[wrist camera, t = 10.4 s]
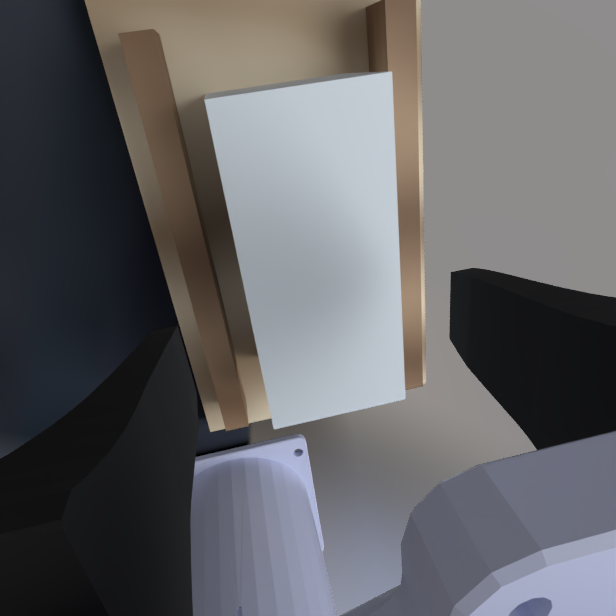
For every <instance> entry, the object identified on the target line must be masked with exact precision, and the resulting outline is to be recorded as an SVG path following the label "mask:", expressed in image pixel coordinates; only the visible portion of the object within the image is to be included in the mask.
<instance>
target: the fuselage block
mask: <svg viewBox="0 0 616 616" xmlns="http://www.w3.org/2000/svg"><path fill="white" fill-rule="evenodd" d="M204 101H205V105H206V110H207V115H208V120H209V124H210V129H211V134H212V139H213V143H214V148H215V153H216V158H217V162H218V167H219V172H220V176H221V181H222V186H223V191H224V195H225V200H226V205H227V210H228V214H229V219H230V224H231V229H232V233H233V238H234V243H235V248H236V252H237V257H238V262H239V266H240V271H241V276H242V281H243V285H244V290H245V295H246V300H247V304H248V309H249V314H250V319H251V323H252V328H253V333H254V338H255V342H256V347H257V352H258V357H259V361H260V366H261V371H262V375H263V380H264V385H265V390H266V394H267V399H268V404H269V409H270V413H271V418H272V423H273V427H274V429H278V428H282V427H287V426H291V425H295V424H299V423H304V422H308V421H313V420H317V419H321V418H326V417H330V416H334V415H339V414H343V413H347V412H351V411H356V410H360V409H365V408H369V407H373V406H378V405H382V404H386V403H391V402H395V401H399V400H404V399H405V374H404V349H403V325H402V300H401V276H400V251H399V226H398V202H397V177H396V153H395V128H394V104H393V79H392V71H390V72H364V73H342V74H336V75H329V76H322V77H315V78H309V79H302V80H295V81H288V82H282V83H275V84H268V85H262V86H255V87H248V88H241V89H235V90H228V91H221V92H214V93H208V94H205V98H204Z"/></svg>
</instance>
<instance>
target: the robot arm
mask: <svg viewBox="0 0 616 616" xmlns="http://www.w3.org/2000/svg"><path fill="white" fill-rule="evenodd" d="M450 297H451V298H450V340H451V342H452V343H453V345H454V346H455V348H456V350H457V352H458V353H459V355H460V356H461V358H462V359H463V361H464V362H465V364H466V365H467V367H468V368H469V369H470V370H471V371H472V373H473V374H474V375H475V376H476V377H477V378H478V380H479V381H480V382H481V383H482V384H483V385H484V387H485V388H486V389H487V390H488V391H489V392H490V393H491V394H492V396H493V397H494V398H495V399H496V400H497V401H498V402H499V404H501V406H502V407H503V408H504V409H505V410H506V411H507V413H508V414H509V415H510V416H511V417H512V418H513V419H514V420H515V422H516V423H517V424H518V425H519V426H520V428H521V429H522V430H523V431H524V432H525V434H526V435H527V436H528V438H529V439H530V440H531V442H532V443H533V445H534V446H535V447H536V449H537V450H536V451H532V452H528V453H524V454H520V455H516V456H512V457H508V458H504V459H500V460H496V461H491V462H487V463H484V464H479V465H476V466H474V467H472V468H469V469H467V470H465V471H463V472H460V473H458V474H456V475H454V476H452V477H449V478H447V479H445V480H443V481H441V482H439V484H437V485H436V486H435V487H434V488H433V489H432V490H431V492H429V493H428V494H427V495H426V496H425V497H424V498H423V499H422V500H421V502H419V503H418V504H417V505H416V506H415V507H414V509H413V510H412V512H411V514H410V517H409V520H408V523H407V526H406V530H405V533H404V536H403V539H402V542H401V554H402V580H401V585H399V586H397V587H395V588H393V589H391V590H389V591H387V592H385V593H383V594H381V595H379V596H377V597H375V598H373V599H372V600H370V601H368V602H366V603H364V604H362V605H360V606H358V607H356V608H354V609H352V610H350V611H348V612H346V613H344V614H342V615H340V616H616V298H615V297H607V296H602V295H596V294H590V293H585V292H580V291H576V290H570V289H565V288H561V287H556V286H553V285H548V284H544V283H540V282H536V281H532V280H528V279H524V278H520V277H516V276H512V275H508V274H504V273H499V272H495V271H490V270H485V269H478V268H470V269H465V270H460V271H455V272H451V294H450ZM197 435H198V407H197V392H196V388H195V385H194V381H193V378H192V374H191V371H190V367H189V364H188V360H187V357H186V353H185V350H184V346H183V343H182V339H181V336H180V332H179V329H178V326H173V327H168V328H163V329H158V330H153V331H152V332H151V333H149V334H148V335H147V336H146V338H145V339H144V340H143V341H142V342H141V343H140V344H139V345H138V346H137V347H136V348H135V350H134V351H133V352H132V353H131V354H130V355H129V356H128V357H127V358H126V359H125V360H124V361H123V363H122V364H121V365H120V366H119V367H118V368H117V369H116V370H115V371H114V372H113V373H112V374H111V375H110V376H109V377H108V378H107V379H106V380H105V381H104V382H103V383H102V384H101V385H99V386H98V387H97V388H96V389H95V390H94V391H93V392H92V393H91V394H90V395H89V396H88V397H87V398H86V399H84V400H83V401H82V402H81V403H80V404H79V405H77V406H76V407H75V408H74V409H73V410H71V411H70V412H69V413H67V414H66V415H65V416H64V417H62V418H61V419H60V420H58V421H57V422H56V423H54V424H53V425H52V426H50V427H49V428H47V429H46V430H44V431H43V432H41V433H40V434H38V435H37V436H35V437H34V438H33V439H31V440H30V441H28V442H27V443H25V444H24V445H22V446H21V447H19V448H18V449H16V450H15V451H13V452H11V453H10V454H8V455H6V456H5V457H3V458H1V459H0V616H337V612H336V608H335V605H334V600H333V596H332V592H331V588H330V583H329V579H328V575H327V571H326V567H325V563H324V558H323V555H322V552H323V550H324V544H323V538H322V532H321V526H320V520H319V514H318V508H317V503H316V497H315V491H314V486H313V479H312V473H311V468H310V462H309V456H308V450H307V445H306V440H305V437H304V436H303V435H301V434H293V435H289V436H285V437H280V438H276V439H272V440H267V441H263V442H259V443H254V444H250V445H246V446H241V447H237V448H233V449H228V450H224V451H220V452H215V453H211V454H207V455H203V456H198V457H196V447H197ZM297 449H301V450H300V451H295V450H297Z"/></svg>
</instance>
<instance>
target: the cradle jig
mask: <svg viewBox="0 0 616 616" xmlns="http://www.w3.org/2000/svg"><path fill="white" fill-rule="evenodd" d="M85 4H86V7H87V10H88V14H89V17H90V21H91V24H92V28H93V31H94V34H95V38H96V41H97V45H98V48H99V52H100V55H101V58H102V62H103V65H104V69H105V72H106V75H107V79H108V82H109V86H110V89H111V93H112V96H113V99H114V103H115V106H116V110H117V113H118V117H119V120H120V123H121V127H122V130H123V134H124V137H125V141H126V144H127V147H128V151H129V154H130V158H131V161H132V165H133V168H134V171H135V175H136V178H137V182H138V185H139V189H140V192H141V195H142V199H143V202H144V206H145V209H146V213H147V216H148V219H149V223H150V226H151V230H152V233H153V236H154V240H155V243H156V247H157V250H158V254H159V257H160V260H161V264H162V267H163V271H164V274H165V278H166V281H167V284H168V288H169V291H170V295H171V298H172V302H173V305H174V308H175V312H176V315H177V319H178V322H179V326H180V329H181V332H182V336H183V339H184V343H185V346H186V350H187V353H188V356H189V360H190V363H191V367H192V370H193V374H194V377H195V380H196V384H197V387H198V391H199V394H200V397H201V401H202V404H203V408H204V411H205V415H206V418H207V421H208V425H209V428H210V432H212V431H217V430H221V429H226V431H229V430H233V429H237V428H242V427H246V426H249V423H252V422H256V421H261V420H265V419H269V418H271V413H270V409H269V404H268V399H267V394H266V390H265V385H264V380H263V375H262V371H261V366H260V361H259V357H258V352H257V347H256V342H255V338H254V333H253V328H252V323H251V319H250V314H249V309H248V304H247V300H246V295H245V290H244V285H243V281H242V276H241V271H240V266H239V262H238V257H237V252H236V248H235V243H234V238H233V233H232V229H231V224H230V219H229V214H228V210H227V205H226V200H225V195H224V191H223V186H222V181H221V176H220V172H219V167H218V162H217V158H216V153H215V148H214V143H213V139H212V134H211V129H210V124H209V120H208V115H207V110H206V105H205V101H204V98H205V94H208V93H214V92H221V91H228V90H235V89H241V88H248V87H255V86H262V85H268V84H275V83H282V82H288V81H295V80H302V79H309V78H315V77H322V76H329V75H336V74H342V73H364V72H390V71H392V79H393V104H394V128H395V153H396V177H397V202H398V226H399V251H400V276H401V300H402V325H403V349H404V374H405V390H408V389H412V388H417V387H421V386H423V383H426V343H425V279H424V278H425V275H424V273H425V272H424V207H423V206H424V205H423V203H424V202H423V137H422V135H423V129H422V61H421V60H422V58H421V0H85Z"/></svg>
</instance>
